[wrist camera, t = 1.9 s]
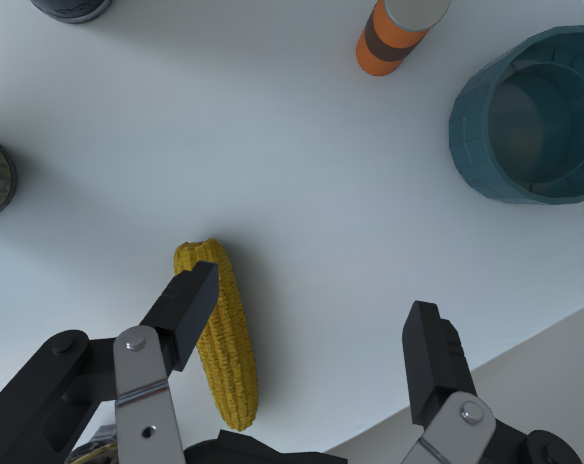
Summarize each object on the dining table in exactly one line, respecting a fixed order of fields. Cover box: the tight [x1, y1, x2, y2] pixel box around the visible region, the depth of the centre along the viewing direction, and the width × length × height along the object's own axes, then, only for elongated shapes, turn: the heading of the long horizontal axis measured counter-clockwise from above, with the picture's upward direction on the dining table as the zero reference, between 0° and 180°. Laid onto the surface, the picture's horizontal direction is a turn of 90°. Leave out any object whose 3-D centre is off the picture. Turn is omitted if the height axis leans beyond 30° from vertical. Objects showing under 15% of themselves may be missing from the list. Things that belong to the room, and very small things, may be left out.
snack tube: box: [356, 0, 450, 76], centre depth 29 cm, size 5×5×10 cm
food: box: [174, 238, 258, 432], centre depth 34 cm, size 21×6×6 cm, turn 14°
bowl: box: [449, 25, 584, 205], centre depth 32 cm, size 15×15×6 cm
